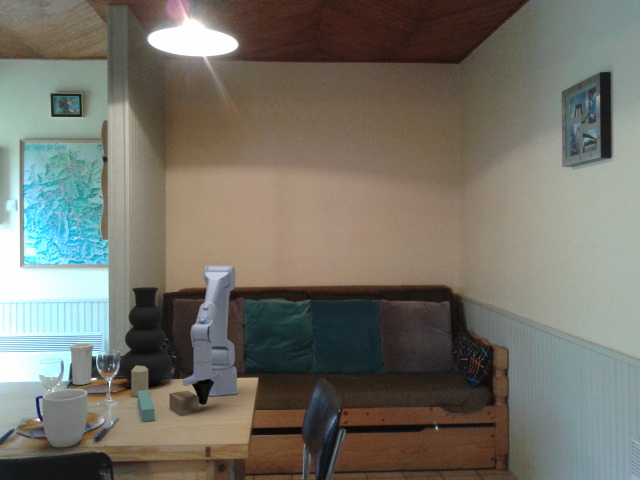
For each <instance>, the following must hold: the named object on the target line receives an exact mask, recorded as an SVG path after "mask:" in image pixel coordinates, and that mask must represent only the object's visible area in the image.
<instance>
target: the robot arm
mask: <svg viewBox="0 0 640 480" xmlns="http://www.w3.org/2000/svg"><path fill="white" fill-rule="evenodd" d="M236 275H237V274H236V268H235V267H234V266H233V265H207V264H206V266H205V268H204V271H203V280H204V282H205V285H206V292H205V299H204V302H203V303H202V304H201V305H200V306H199V308H198V313H197V317H196V321H195V323H194V324H192V325H191V328H190V340H191V347H192V348H193V373H192V375H189V376H188V377H185V378H183V379H182V386H186V387H189V386H192V387H193V389H194V391H195V393H196V394H195V395H196V396H198V397H199V405H203V406H204V405H207V403H208V400H209V397H217V396H218V397H219V396H229V395H236V394H238V372H237V371H238V370H237V368H236V366H234V364H235V361H236V353H235V344H234V343H233V342H232V341H231V340H229V339H228V327H229V326H228V324H229V308H230V307H229V304H230V295H231V292H232V291H234V290H235V287H236Z"/></svg>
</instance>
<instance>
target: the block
mask: <svg viewBox="0 0 640 480" xmlns="http://www.w3.org/2000/svg"><path fill="white" fill-rule="evenodd" d="M169 409H170V411H172V412H174V414H175V413H176V414H177V415H178V416H180V417H181V416H186V415H187V416H188V415H192V414H199V412H200V404H199V397H198V396H197V394H195V393H193V392H191V391H189V390H182V391H177V392H170V393H169Z"/></svg>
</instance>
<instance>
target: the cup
mask: <svg viewBox="0 0 640 480" xmlns="http://www.w3.org/2000/svg"><path fill="white" fill-rule="evenodd" d="M69 349H70V353H71V354H70V356H71V373H72V384H73V385H77V386H78V385H87V384H91V382H92V367H93V366H92V364H93V363H92V360H93V349H94V344H93V343H92V342H78V343H72V344H70V345H69Z"/></svg>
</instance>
